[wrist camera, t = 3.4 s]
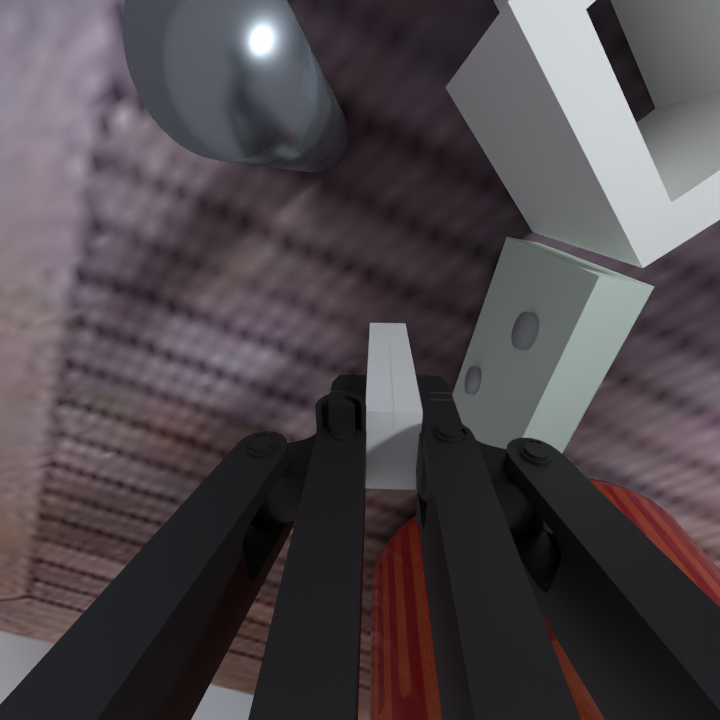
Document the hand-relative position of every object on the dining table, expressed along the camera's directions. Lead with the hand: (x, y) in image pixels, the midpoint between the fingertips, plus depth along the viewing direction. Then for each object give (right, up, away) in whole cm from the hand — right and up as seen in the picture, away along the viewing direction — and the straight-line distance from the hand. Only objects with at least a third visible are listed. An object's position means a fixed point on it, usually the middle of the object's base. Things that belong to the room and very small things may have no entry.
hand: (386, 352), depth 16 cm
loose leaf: (+6, +1, +4) cm, 7 cm away
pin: (-3, +10, 0) cm, 10 cm away
